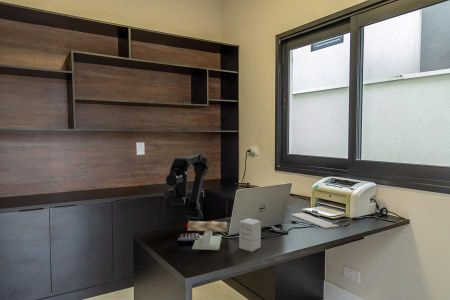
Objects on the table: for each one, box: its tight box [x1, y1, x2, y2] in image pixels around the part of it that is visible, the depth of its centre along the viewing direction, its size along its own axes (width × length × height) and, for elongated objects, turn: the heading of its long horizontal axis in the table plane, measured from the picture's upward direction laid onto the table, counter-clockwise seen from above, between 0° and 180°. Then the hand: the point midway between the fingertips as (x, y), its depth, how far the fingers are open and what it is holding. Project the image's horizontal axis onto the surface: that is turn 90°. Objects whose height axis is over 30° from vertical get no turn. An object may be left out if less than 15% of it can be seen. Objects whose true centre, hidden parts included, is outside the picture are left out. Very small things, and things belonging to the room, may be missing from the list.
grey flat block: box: [290, 212, 341, 230], centre depth 190 cm, size 31×3×12 cm
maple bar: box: [187, 220, 228, 232], centre depth 149 cm, size 18×4×4 cm, turn 88°
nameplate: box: [268, 226, 289, 235], centre depth 176 cm, size 27×2×10 cm
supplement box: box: [238, 217, 262, 253], centre depth 144 cm, size 7×7×13 cm
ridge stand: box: [191, 231, 222, 251], centre depth 149 cm, size 16×12×6 cm
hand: (181, 214), depth 156 cm, fingers open, 9 cm apart
